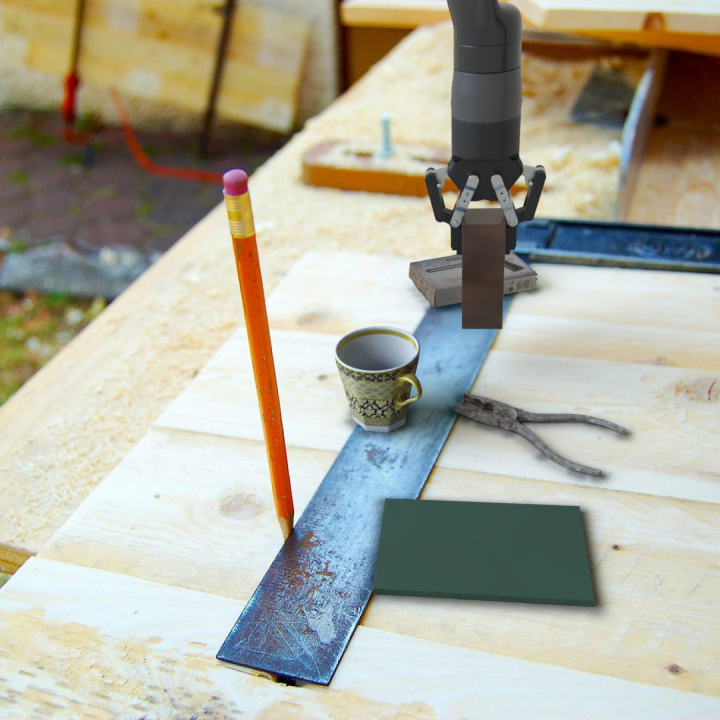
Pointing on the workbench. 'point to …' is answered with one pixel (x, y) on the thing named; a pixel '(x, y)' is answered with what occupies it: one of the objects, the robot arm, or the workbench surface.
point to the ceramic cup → (379, 375)
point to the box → (445, 278)
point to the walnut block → (483, 268)
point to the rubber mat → (483, 552)
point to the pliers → (509, 421)
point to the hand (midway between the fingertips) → (483, 251)
